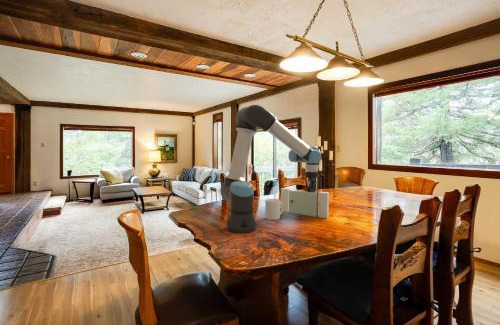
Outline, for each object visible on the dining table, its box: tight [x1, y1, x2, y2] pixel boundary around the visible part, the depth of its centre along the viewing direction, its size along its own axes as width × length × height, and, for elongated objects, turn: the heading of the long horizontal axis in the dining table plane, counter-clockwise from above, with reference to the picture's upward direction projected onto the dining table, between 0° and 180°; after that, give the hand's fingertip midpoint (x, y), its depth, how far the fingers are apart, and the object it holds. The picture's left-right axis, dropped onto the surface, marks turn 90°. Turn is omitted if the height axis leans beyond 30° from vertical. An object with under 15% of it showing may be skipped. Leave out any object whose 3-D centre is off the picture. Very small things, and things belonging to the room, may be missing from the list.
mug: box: [264, 198, 284, 221], centre depth 156 cm, size 9×12×11 cm
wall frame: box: [280, 187, 330, 219], centre depth 166 cm, size 30×3×15 cm, turn 58°
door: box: [288, 189, 320, 218], centre depth 163 cm, size 19×3×16 cm, turn 58°
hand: (310, 208), depth 168 cm, fingers closed
